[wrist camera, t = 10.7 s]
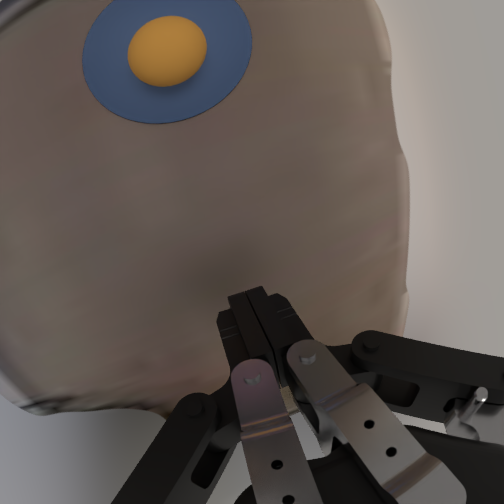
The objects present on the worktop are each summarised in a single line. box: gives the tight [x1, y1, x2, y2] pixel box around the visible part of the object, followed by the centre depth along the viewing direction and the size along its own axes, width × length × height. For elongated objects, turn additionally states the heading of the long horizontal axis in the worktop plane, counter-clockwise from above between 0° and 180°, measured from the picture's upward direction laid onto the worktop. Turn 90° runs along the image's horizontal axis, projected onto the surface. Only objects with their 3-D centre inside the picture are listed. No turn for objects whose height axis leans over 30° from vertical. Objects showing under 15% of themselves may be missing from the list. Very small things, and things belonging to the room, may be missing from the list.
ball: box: [128, 16, 207, 87], centre depth 15 cm, size 6×6×6 cm
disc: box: [82, 0, 252, 123], centre depth 17 cm, size 14×14×1 cm
